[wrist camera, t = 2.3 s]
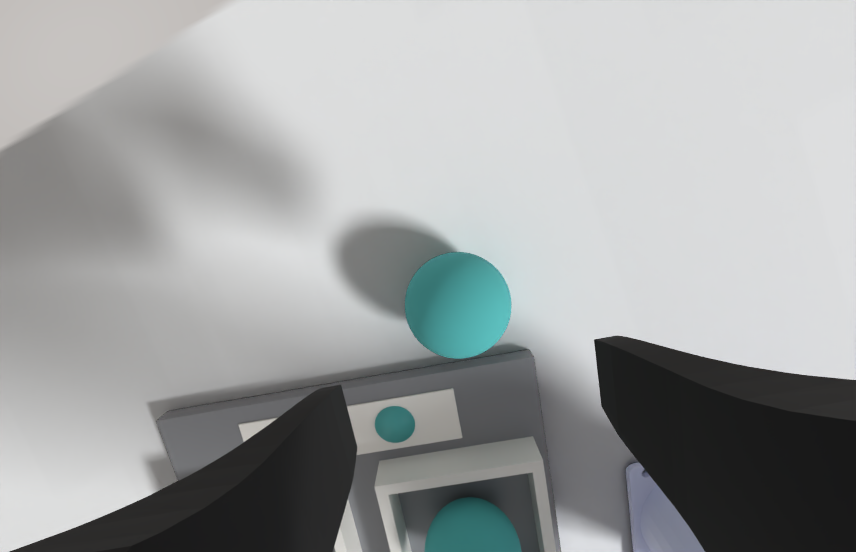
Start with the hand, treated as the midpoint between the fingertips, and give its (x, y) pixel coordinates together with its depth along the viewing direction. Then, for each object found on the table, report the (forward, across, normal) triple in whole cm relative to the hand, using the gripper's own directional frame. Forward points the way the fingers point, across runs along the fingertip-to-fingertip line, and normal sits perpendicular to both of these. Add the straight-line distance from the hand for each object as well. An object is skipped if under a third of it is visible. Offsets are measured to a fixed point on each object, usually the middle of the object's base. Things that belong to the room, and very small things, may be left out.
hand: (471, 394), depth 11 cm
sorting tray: (+10, +7, +11) cm, 16 cm away
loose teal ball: (+10, 0, 0) cm, 10 cm away
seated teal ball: (+9, +1, +13) cm, 16 cm away
